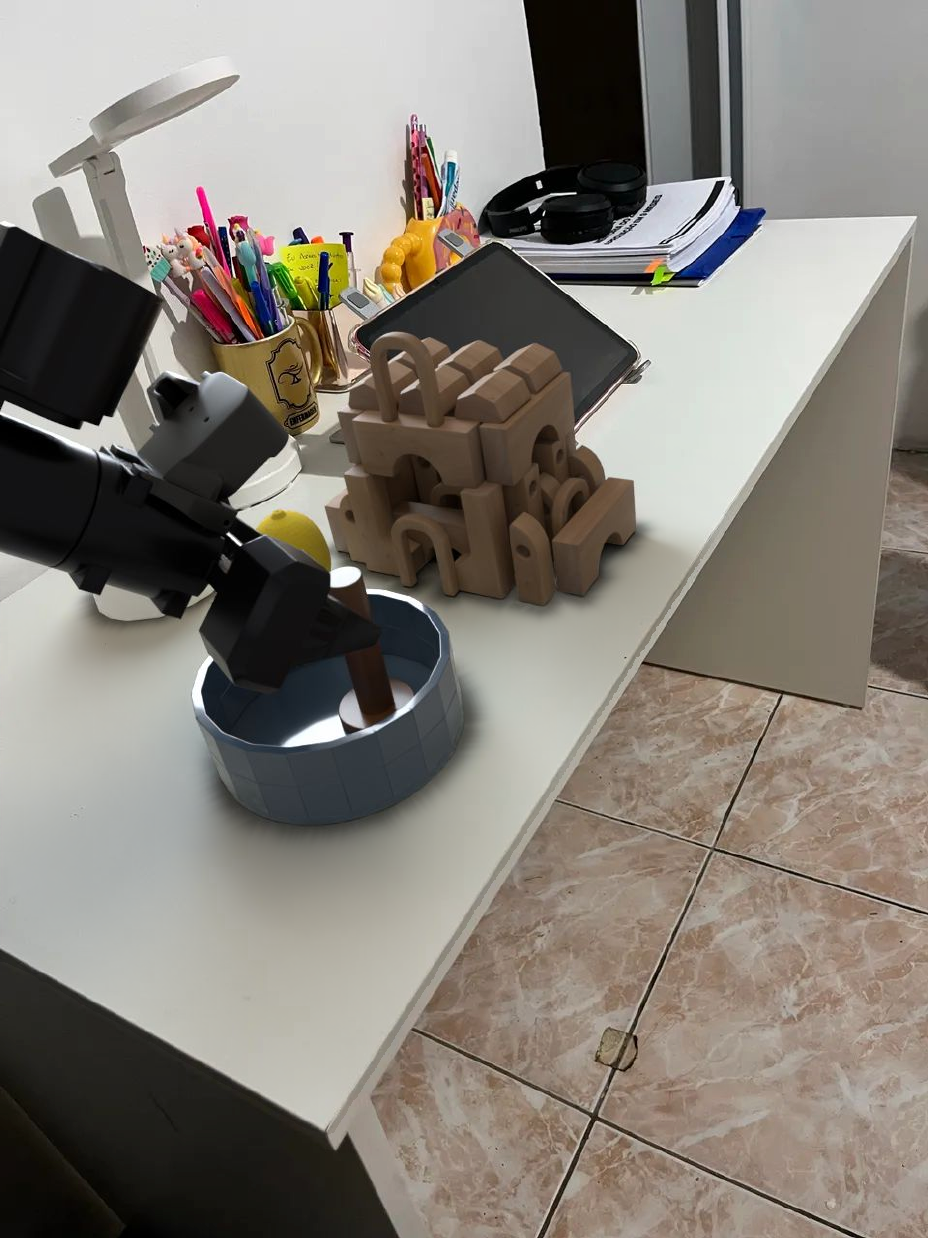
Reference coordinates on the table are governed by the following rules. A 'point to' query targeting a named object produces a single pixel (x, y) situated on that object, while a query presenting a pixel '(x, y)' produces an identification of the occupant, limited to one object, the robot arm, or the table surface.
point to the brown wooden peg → (365, 664)
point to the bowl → (336, 726)
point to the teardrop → (133, 604)
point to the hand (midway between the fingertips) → (337, 601)
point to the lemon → (297, 534)
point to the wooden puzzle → (474, 472)
